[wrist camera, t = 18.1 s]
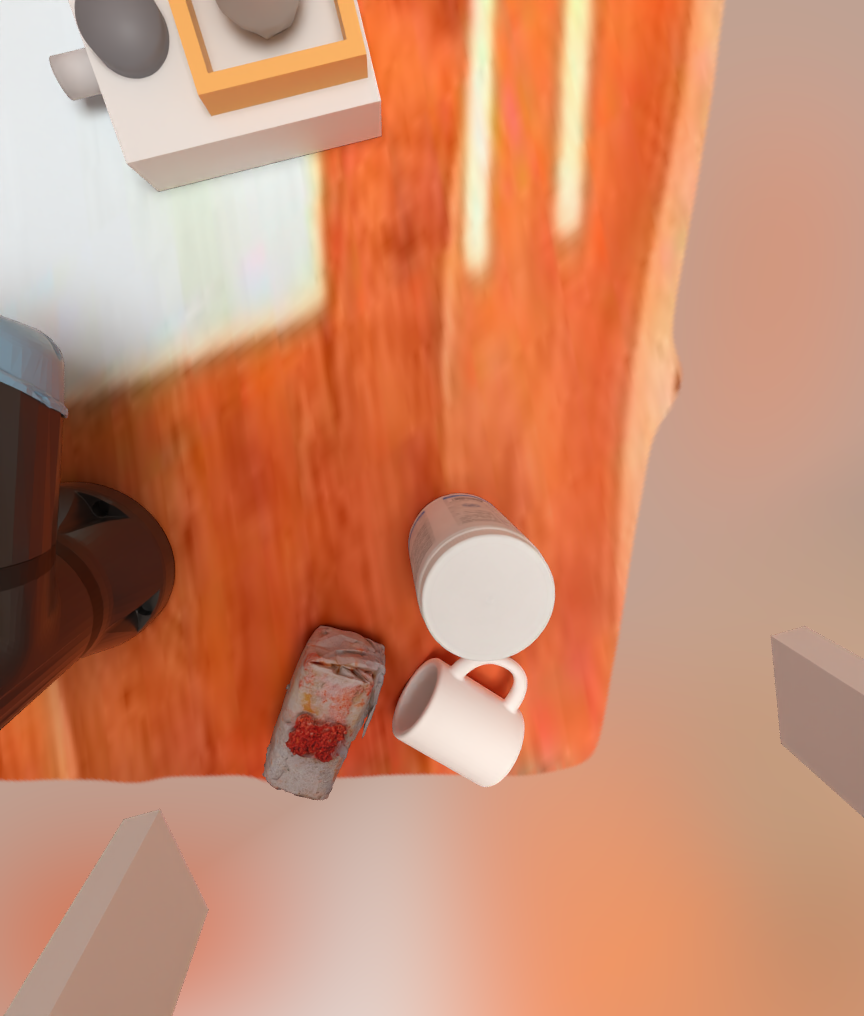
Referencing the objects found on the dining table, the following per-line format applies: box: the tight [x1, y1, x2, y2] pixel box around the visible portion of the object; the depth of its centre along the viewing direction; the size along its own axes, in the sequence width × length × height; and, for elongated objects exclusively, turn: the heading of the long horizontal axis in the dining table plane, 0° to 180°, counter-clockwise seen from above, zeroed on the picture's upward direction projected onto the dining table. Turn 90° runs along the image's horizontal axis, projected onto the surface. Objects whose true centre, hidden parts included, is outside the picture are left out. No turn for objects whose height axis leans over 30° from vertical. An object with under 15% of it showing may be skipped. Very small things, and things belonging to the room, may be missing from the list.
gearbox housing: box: [49, 0, 382, 191], centre depth 34 cm, size 21×14×8 cm, turn 104°
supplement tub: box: [408, 493, 555, 661], centre depth 41 cm, size 10×10×15 cm
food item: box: [262, 626, 385, 800], centre depth 45 cm, size 14×8×10 cm, turn 160°
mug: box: [392, 657, 527, 787], centre depth 48 cm, size 12×10×8 cm
